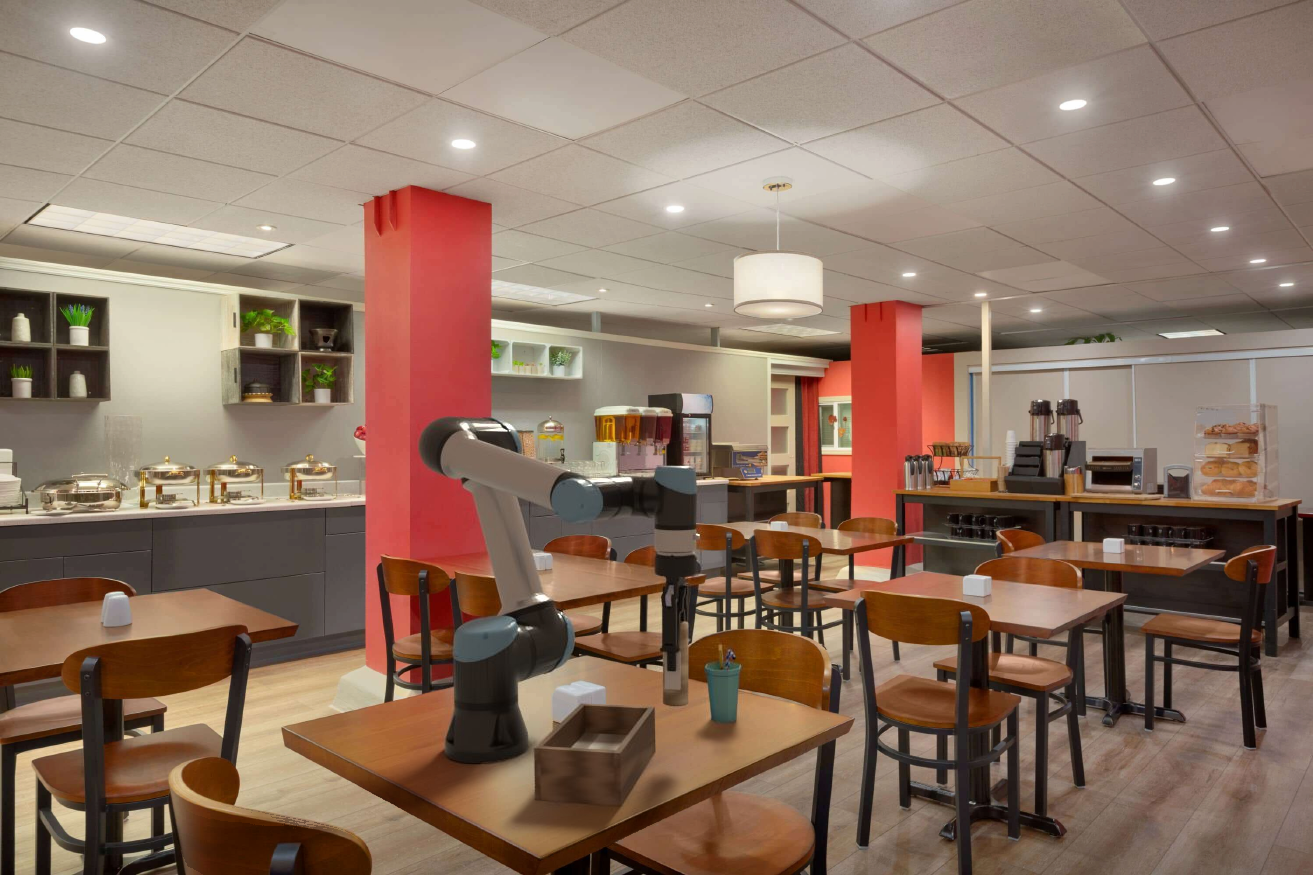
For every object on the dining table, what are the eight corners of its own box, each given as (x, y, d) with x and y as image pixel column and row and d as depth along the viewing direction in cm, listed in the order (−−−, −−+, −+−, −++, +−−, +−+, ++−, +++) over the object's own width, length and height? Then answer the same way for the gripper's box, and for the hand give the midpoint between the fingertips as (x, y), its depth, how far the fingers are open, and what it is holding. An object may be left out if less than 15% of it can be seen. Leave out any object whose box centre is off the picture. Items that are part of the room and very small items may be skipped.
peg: (660, 705, 145) (660, 625, 145) (665, 697, 149) (665, 619, 149) (685, 707, 144) (685, 626, 144) (690, 699, 148) (690, 621, 148)
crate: (534, 799, 129) (534, 747, 130) (581, 746, 153) (581, 703, 153) (621, 805, 126) (620, 753, 127) (655, 751, 150) (654, 706, 150)
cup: (754, 728, 161) (753, 651, 162) (716, 732, 160) (714, 654, 160) (733, 708, 175) (731, 636, 175) (697, 711, 173) (696, 639, 174)
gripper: (687, 559, 137) (687, 700, 137) (704, 547, 154) (704, 672, 154) (643, 558, 139) (643, 697, 139) (665, 546, 156) (665, 670, 156)
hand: (675, 684), depth 146 cm, fingers closed on peg, 4 cm apart
